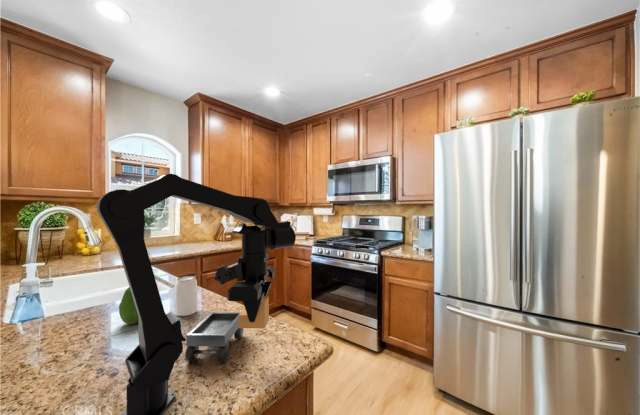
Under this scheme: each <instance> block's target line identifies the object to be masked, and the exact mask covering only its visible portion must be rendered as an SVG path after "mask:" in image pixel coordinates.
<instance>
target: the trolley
mask: <svg viewBox="0 0 640 415" xmlns="http://www.w3.org/2000/svg"><path fill="white" fill-rule="evenodd" d="M241 312H242V311H240V312H238V311H237V312H233V311H232V312H230V311H229V312H227V311H226V312H225V311H224V312H221V311H218V312H217V311H215V312H214V311H213V312H212V311H211V312H210V313H209V314H208V315H207V316H206V317H204V319H202V320H201V321H200V322H199V323H197V325H195V327H193V328H192V329H191V331H189V332H188V333H187V334H186V335H185V339H186V341H185V343H186V345H185V346H186V349H185V353H184V354H185V355H184V359H185V362H186V363H187V362H190V363H191V362H192V363H193V362H194V361H195V360H197V357H198V355H199V354H200V355H217V359H218V360H217V361H218V362H219V363H226V362H227V361H228V358H229V356H230V352H231V351H230V348H231V346H230V343H229V342H230V340H231V339H232V338H233V337H234V339H235V340H241V339H242V338H243V335H244V328H239V314H240V313H241ZM200 347H207V348H208V347H219V349H200Z"/></svg>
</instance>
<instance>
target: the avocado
mask: <svg viewBox="0 0 640 415" xmlns="http://www.w3.org/2000/svg"><path fill="white" fill-rule="evenodd" d="M118 308H119V309H118V312H119V313H118V314H119V317H120V319H121V321H122V322H123V323H125V324H127V325H135V324H137V323H138V324H139V317H138V313H137V310H136V306H135V303H134V300H133V297H132V293H131V290H130V287H128V288H126V289H125V290H124V293H123V295H122V299H121V301H120V303H119V306H118Z"/></svg>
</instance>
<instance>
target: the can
mask: <svg viewBox="0 0 640 415" xmlns="http://www.w3.org/2000/svg"><path fill="white" fill-rule="evenodd" d="M196 312H198V280H197V278H196V276H194V275H185V276H179V277H178V278H177V281H176V283H175V315H177V317H188V316H189V317H190V316H192V315H194V314H195V313H196Z"/></svg>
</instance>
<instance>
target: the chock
mask: <svg viewBox="0 0 640 415" xmlns="http://www.w3.org/2000/svg"><path fill="white" fill-rule="evenodd" d="M269 298H270V296H269V295H267V296H263V299H262V301H261V304H260V307H259V310H258V313H257V316H256V319H255V321H254V322H249V319H248V315H247V312H246V309H245V307H244V308H243V309H242V310H241V311H240V312H241V313H240V314H239V328H243V329H266V328H267V325H268V324H269V322H270V320H269V318H270V316H269V314H270V306H269V305H270V302H269V301H270V299H269Z"/></svg>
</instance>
